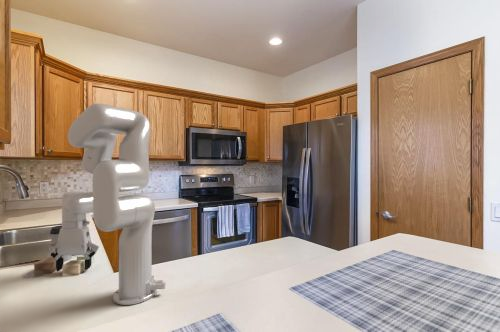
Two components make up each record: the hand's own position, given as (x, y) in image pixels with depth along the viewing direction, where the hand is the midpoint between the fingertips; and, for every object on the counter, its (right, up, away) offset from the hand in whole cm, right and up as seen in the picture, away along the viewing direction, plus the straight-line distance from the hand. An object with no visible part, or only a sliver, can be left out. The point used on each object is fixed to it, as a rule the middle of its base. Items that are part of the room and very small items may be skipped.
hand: (73, 269), depth 98 cm
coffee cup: (-15, -2, +14) cm, 21 cm away
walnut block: (-12, -2, +2) cm, 12 cm away
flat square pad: (-12, -2, +2) cm, 12 cm away
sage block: (-1, -2, +8) cm, 9 cm away
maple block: (0, -2, 0) cm, 2 cm away
